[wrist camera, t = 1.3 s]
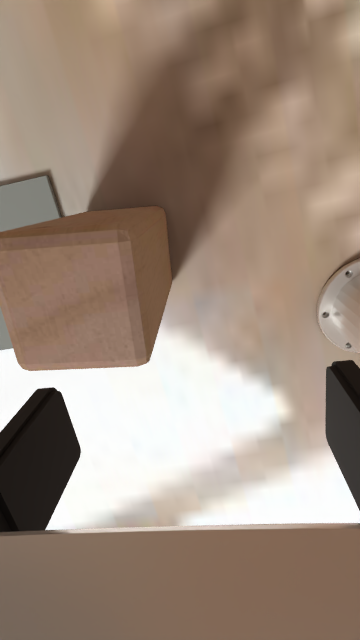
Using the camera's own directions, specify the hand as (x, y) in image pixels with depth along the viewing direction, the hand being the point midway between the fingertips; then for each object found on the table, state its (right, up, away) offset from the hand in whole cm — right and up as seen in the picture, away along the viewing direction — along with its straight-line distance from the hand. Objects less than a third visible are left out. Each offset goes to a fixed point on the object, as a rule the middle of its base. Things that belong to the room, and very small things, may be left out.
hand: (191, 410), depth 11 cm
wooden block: (-7, +12, +28) cm, 31 cm away
